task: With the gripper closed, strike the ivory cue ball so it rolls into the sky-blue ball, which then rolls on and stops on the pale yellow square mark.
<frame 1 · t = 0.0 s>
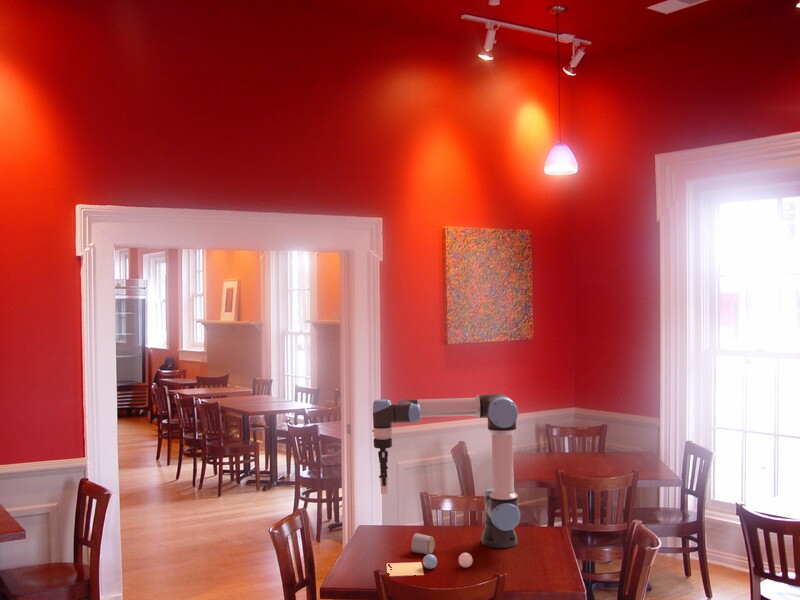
hand: (383, 489, 319), 28 cm above the table, tool pointing down, fingers open, 13 cm apart
ceramic mug: (424, 552, 325), on the table
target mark: (404, 569, 305), on the table
object ball: (430, 561, 305), on the table
cue ball: (465, 560, 306), on the table
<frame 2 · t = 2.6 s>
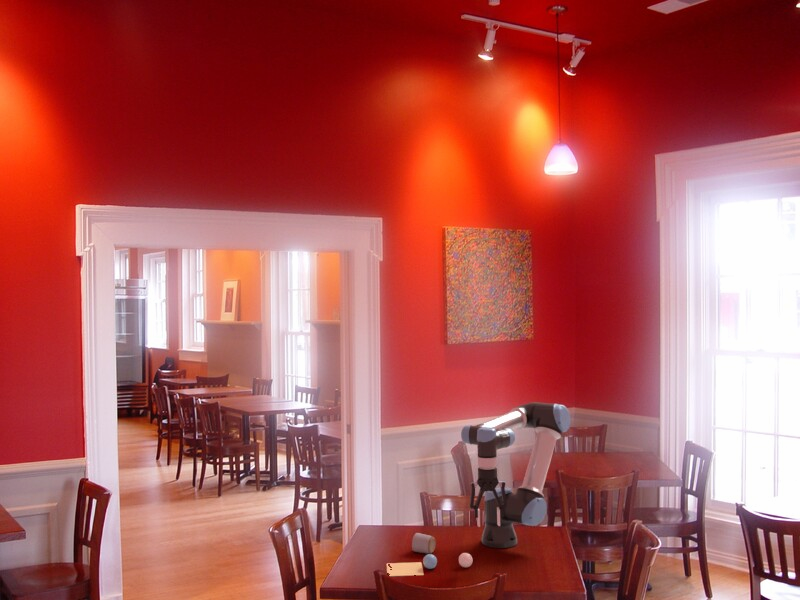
hand: (488, 525, 306), 16 cm above the table, tool pointing down, fingers open, 7 cm apart
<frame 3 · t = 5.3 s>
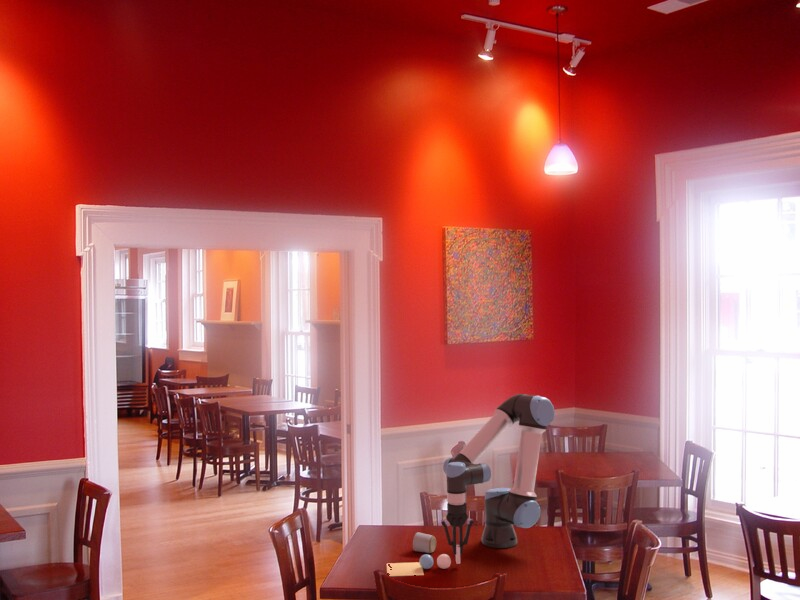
hand: (458, 562, 306), 2 cm above the table, tool pointing down, fingers closed
object ball: (426, 561, 305), on the table
cue ball: (443, 561, 305), on the table
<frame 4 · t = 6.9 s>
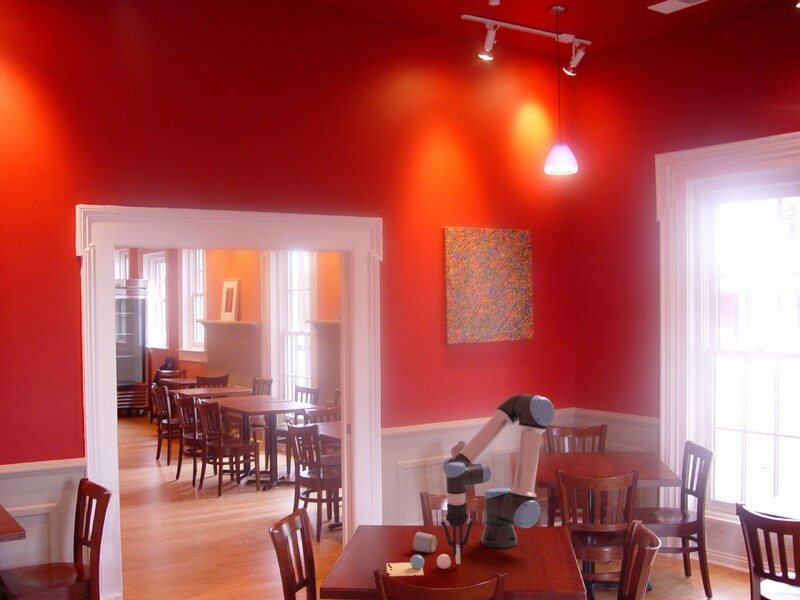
hand: (458, 562, 306), 2 cm above the table, tool pointing down, fingers closed
object ball: (417, 561, 305), on the table
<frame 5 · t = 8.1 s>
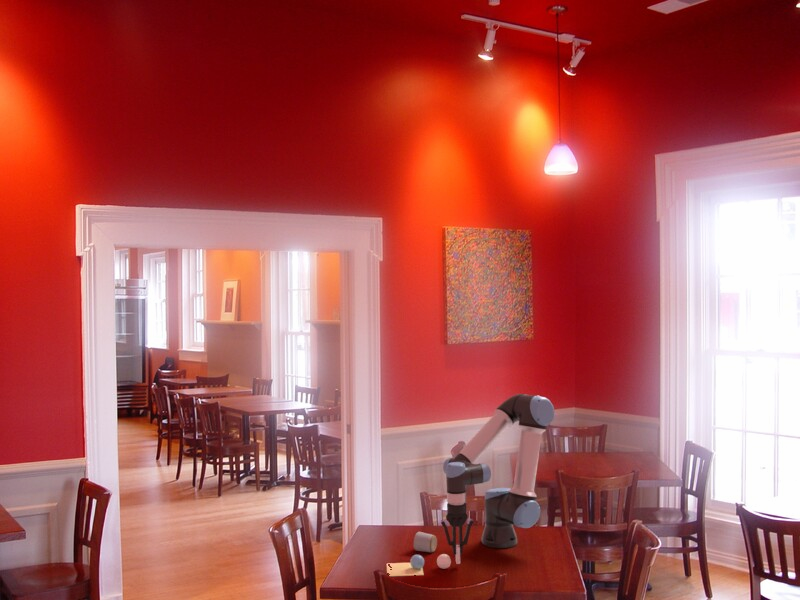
hand: (458, 562, 306), 2 cm above the table, tool pointing down, fingers closed
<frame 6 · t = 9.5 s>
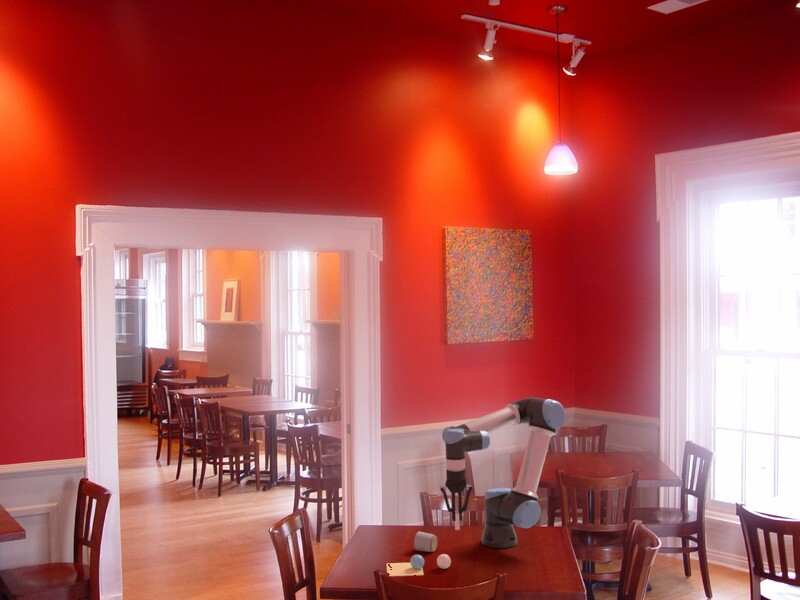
hand: (457, 528, 306), 15 cm above the table, tool pointing down, fingers closed
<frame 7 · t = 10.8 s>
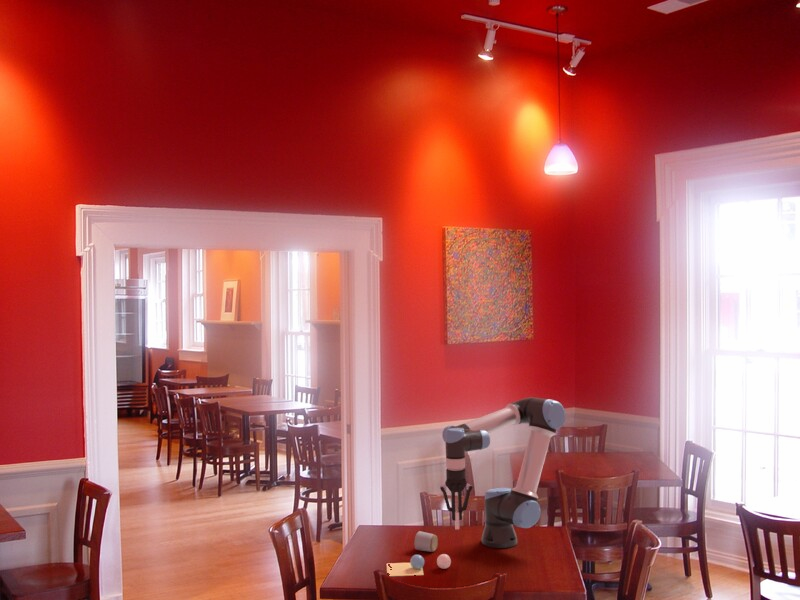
hand: (457, 528, 306), 15 cm above the table, tool pointing down, fingers closed
at the end: object ball 5.0 cm from the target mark (horizontally); object ball never touched the robot; cue ball first touched object ball at 5.1 s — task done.
